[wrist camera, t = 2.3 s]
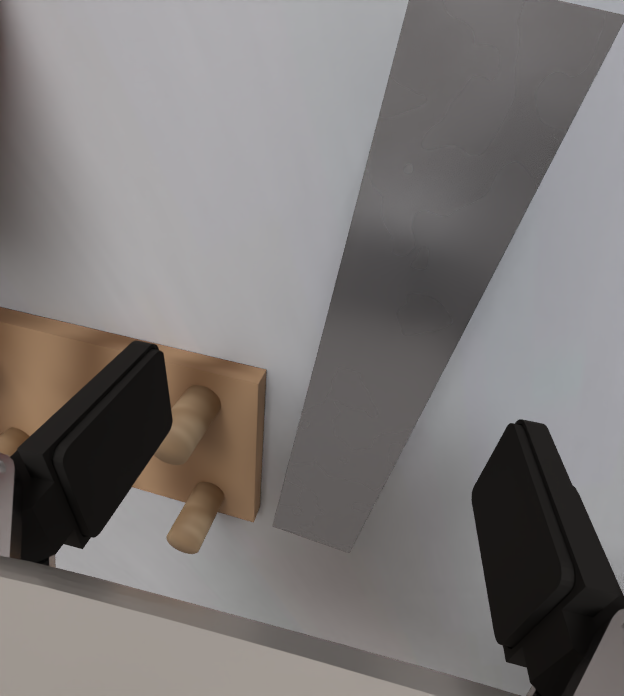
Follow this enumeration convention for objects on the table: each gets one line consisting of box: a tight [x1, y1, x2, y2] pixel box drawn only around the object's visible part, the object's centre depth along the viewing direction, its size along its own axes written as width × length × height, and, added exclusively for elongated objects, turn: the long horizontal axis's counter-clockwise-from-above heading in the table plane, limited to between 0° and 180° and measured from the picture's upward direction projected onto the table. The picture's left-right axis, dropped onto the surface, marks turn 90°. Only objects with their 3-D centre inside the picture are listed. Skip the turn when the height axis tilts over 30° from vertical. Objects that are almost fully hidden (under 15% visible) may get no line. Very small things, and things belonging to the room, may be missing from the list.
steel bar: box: [273, 0, 624, 553], centre depth 14 cm, size 18×4×6 cm, turn 168°
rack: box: [0, 307, 266, 554], centre depth 23 cm, size 20×12×5 cm, turn 84°
